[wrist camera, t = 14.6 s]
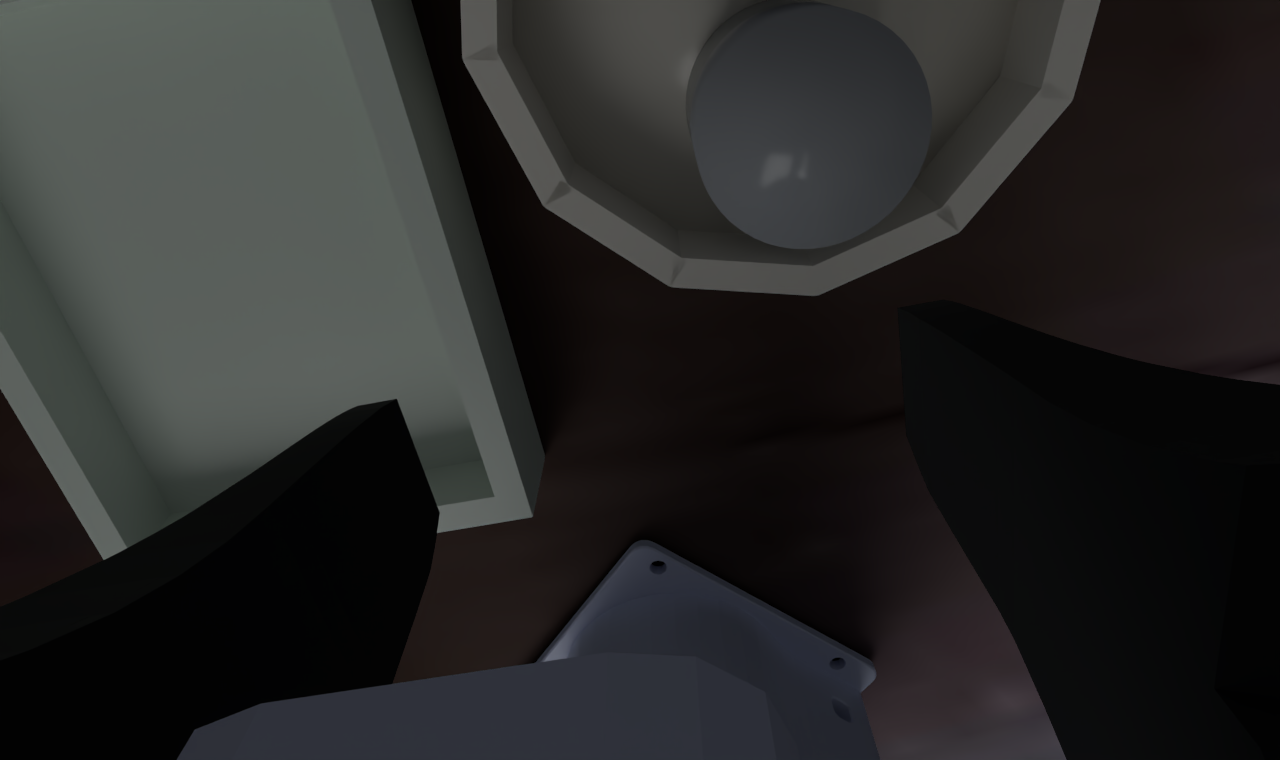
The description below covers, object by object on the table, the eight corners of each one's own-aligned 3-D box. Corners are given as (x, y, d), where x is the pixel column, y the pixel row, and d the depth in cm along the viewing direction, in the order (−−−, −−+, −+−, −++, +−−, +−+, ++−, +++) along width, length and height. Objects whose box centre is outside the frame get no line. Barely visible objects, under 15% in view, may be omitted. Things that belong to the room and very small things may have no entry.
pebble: (918, 76, 19) (982, 103, 15) (795, 232, 21) (827, 289, 17) (764, -47, 18) (794, -48, 14) (648, 128, 20) (648, 166, 16)
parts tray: (545, 456, 24) (532, 517, 22) (174, 520, 25) (119, 585, 23) (377, -113, 18) (331, -127, 15) (-106, 3, 19) (-228, 10, 16)
